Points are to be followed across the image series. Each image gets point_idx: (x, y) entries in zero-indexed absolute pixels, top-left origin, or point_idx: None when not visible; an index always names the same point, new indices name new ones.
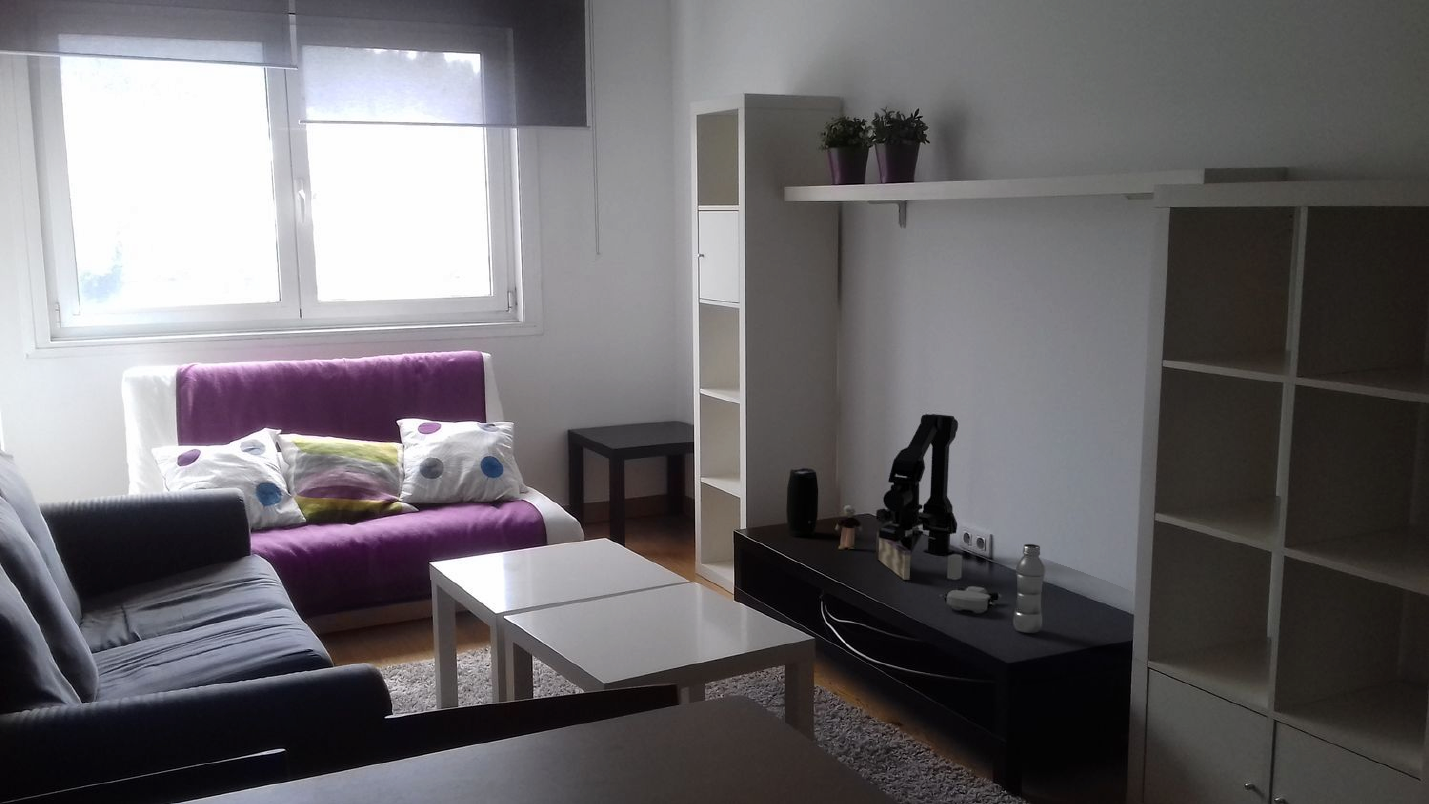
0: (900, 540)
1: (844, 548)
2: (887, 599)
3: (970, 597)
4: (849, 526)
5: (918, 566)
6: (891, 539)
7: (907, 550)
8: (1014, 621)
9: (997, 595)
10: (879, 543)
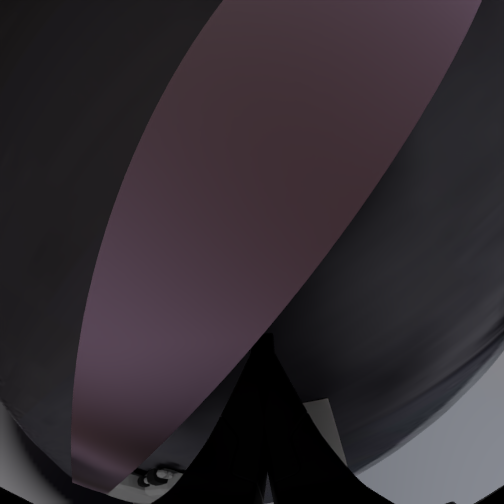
0: (186, 472)
1: None
2: (6, 394)
3: (117, 497)
4: None
5: (379, 253)
6: (3, 495)
7: (95, 488)
8: (133, 502)
9: None
10: None
